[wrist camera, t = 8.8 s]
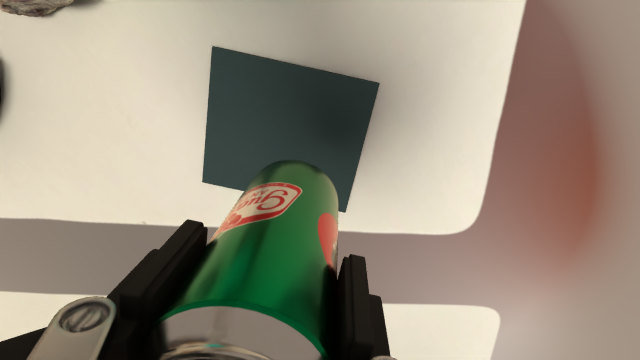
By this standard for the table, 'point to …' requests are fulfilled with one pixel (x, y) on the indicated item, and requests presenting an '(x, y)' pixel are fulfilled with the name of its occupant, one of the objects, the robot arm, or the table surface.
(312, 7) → the table surface
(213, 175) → the mat
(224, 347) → the soda can
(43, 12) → the rock
